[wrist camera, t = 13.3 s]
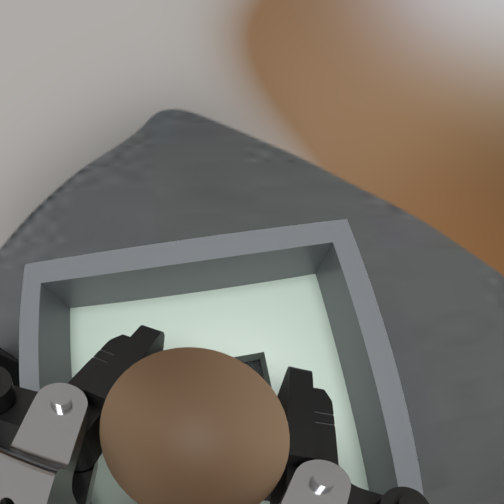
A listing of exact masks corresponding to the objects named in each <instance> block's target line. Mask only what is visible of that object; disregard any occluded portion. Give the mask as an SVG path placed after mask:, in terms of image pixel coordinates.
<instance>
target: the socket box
mask: <svg viewBox="0 0 504 504" xmlns="http://www.w3.org/2000/svg"><path fill="white" fill-rule="evenodd" d="M141 325H144V326H147V327H150V328H153V329H156V330H159V331H162V332H164V334H165V339H164V349H163V350H167V349H173V348H182V347H195V348H205V349H210V350H215V351H218V352H221V353H225V354H227V355H229V356H232V357H234V358H236V359H238V360H240V361H241V362H249V361H255V360H260V362H261V367H262V372H263V377H264V380H265V381H266V382H267V383H268V384H269V386H270V387H271V388H272V389H273V391H274V392H275V394H276V395H278V393H279V390H280V387H281V384H282V382H283V379H284V376H285V373H286V371H287V368H288V367H289V366H290V367H295V368H300V369H304V370H309V371H312V373H313V388H319V389H324V390H325V391H326V393H327V394H328V396H329V397H330V399H331V400H332V404H333V412H334V414H333V416H334V421H335V424H334V426H335V431H336V441H337V451H338V462H339V466H340V467H341V468H342V469H343V470H344V471H345V472H346V473H347V474H348V476H349V478H350V481H351V483H352V484H353V485H355V486H357V487H359V488H362V489H365V490H368V491H371V492H374V493H378V494H381V495H384V494H385V493H386V492H387V491H388V490H390V489H392V488H394V487H401V486H402V487H409V488H412V489H415V490H417V491H418V492H420V493H421V494H422V495H423V496H424V494H423V488H422V481H421V475H420V469H419V464H418V458H417V453H416V448H415V443H414V438H413V433H412V428H411V424H410V419H409V415H408V411H407V406H406V402H405V398H404V394H403V390H402V386H401V382H400V378H399V375H398V371H397V367H396V363H395V360H394V356H393V353H392V349H391V346H390V342H389V339H388V336H387V332H386V329H385V326H384V323H383V319H382V316H381V313H380V310H379V307H378V304H377V301H376V298H375V295H374V292H373V289H372V286H371V283H370V280H369V277H368V274H367V271H366V269H365V266H364V263H363V260H362V257H361V255H360V252H359V249H358V247H357V244H356V241H355V239H354V236H353V234H352V231H351V228H350V226H349V223H348V221H347V219H343V220H334V221H326V222H317V223H309V224H301V225H293V226H285V227H277V228H269V229H261V230H253V231H245V232H238V233H230V234H223V235H215V236H208V237H201V238H194V239H186V240H179V241H172V242H165V243H158V244H151V245H145V246H138V247H131V248H124V249H118V250H111V251H105V252H98V253H92V254H85V255H79V256H72V257H66V258H60V259H54V260H48V261H42V262H36V263H30V264H25V269H24V277H23V286H22V296H21V309H20V328H19V381H20V387H22V388H25V389H29V390H33V391H39V390H40V389H41V388H43V387H44V386H46V385H49V384H52V383H68V382H69V381H70V380H71V379H72V378H73V377H74V376H75V375H76V374H77V373H78V372H79V371H80V370H81V369H82V368H83V366H84V365H85V364H86V363H87V362H88V361H89V360H90V359H91V358H94V355H95V354H96V353H97V352H98V351H99V350H101V348H102V347H103V346H104V345H105V344H106V343H107V342H108V341H109V340H110V339H113V338H115V337H117V336H120V335H122V334H124V335H126V336H129V337H131V335H132V334H133V333H134V332H135V331H136V330H137V329H138V328H139V327H140V326H141ZM90 504H138V503H137V502H135V501H134V500H133V499H132V498H131V497H130V496H128V495H127V493H126V492H125V491H124V490H123V489H122V488H121V487H120V486H119V484H118V483H117V482H116V480H115V479H114V477H113V476H112V474H111V472H110V470H109V468H108V466H107V464H106V461H105V459H104V456H103V452H102V454H101V456H100V457H99V459H98V469H97V473H96V478H95V483H94V487H93V492H92V497H91V502H90ZM260 504H270V501H264V500H263V501H262V502H261V503H260Z"/></svg>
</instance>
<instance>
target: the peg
mask: <svg viewBox="0 0 504 504" xmlns="http://www.w3.org/2000/svg"><path fill="white" fill-rule="evenodd" d="M99 433H100V443H101V448H102V452H103V456H104V459H105V461H106V464H107V466H108V468H109V470H110V472H111V474H112V476H113V477H114V479H115V480H116V482H117V483H118V484H119V486H120V487H121V488H122V489H123V490H124V491H125V492H126V493H127V495H128V496H130V497H131V498H132V499H133V500H134V501H135V502H137V503H138V504H260V503H261V502H262V501H263V500H264V499H266V497H267V496H268V495H269V494H270V493H271V492H272V491H273V489H274V488H275V486H276V485H277V483H278V482H279V480H280V478H281V476H282V474H283V472H284V470H285V467H286V463H287V460H288V455H289V448H290V434H289V427H288V422H287V418H286V415H285V411H284V409H283V407H282V405H281V403H280V400H279V399H278V397H277V395H276V394H275V392H274V391H273V389H272V388H271V387H270V386H269V384H268V383H267V382H266V381H265V380H264V379H263V378H262V377H261V376H260V375H259V374H258V373H257V372H256V371H254V370H253V369H252V368H250V367H249V366H248V365H246V364H245V363H243V362H241V361H240V360H238V359H236V358H234V357H232V356H229V355H227V354H225V353H221V352H218V351H215V350H210V349H205V348H195V347H182V348H173V349H167V350H163V351H160V352H157V353H154V354H151V355H149V356H147V357H145V358H143V359H141V360H140V361H138V362H136V363H135V364H133V365H132V366H131V367H130V368H128V369H127V370H126V371H125V372H124V373H123V374H122V375H121V376H120V377H119V378H118V379H117V381H116V382H115V384H114V385H113V386H112V388H111V389H110V391H109V393H108V395H107V397H106V399H105V402H104V405H103V408H102V412H101V418H100V431H99Z"/></svg>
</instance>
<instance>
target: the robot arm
mask: <svg viewBox="0 0 504 504" xmlns="http://www.w3.org/2000/svg"><path fill="white" fill-rule="evenodd" d="M164 339H165V334H164V332H162V331H159V330H156V329H153V328H150V327H147V326H144V325H141V326H140V327H139V328H138V329H137V330H136V331H135V332H134V333H133V334H132V335H131V337H129V336H126V335H124V334H122V335H120V336H117V337H115V338H113V339H110V340H109V341H108V342H107V343H106V344H105V345H104V346H103V347H102V348H101V350H99V351H98V352H97V353H96V354H95V355H94V358H91V359H90V360H89V361H88V362H87V363H86V364H85V365H84V366H83V368H82V369H81V370H80V371H79V372H78V373H77V374H76V375H75V376H74V377H73V378H72V379H71V380H70V381H69V382H68V383H52V384H49V385H46V386H44V387H43V388H41V389H40V390H39V391H33V390H29V389H25V388H22V387H18V386H15V385H13V382H12V378H11V375H10V374H9V372H8V371H7V370H6V369H5V368H3V367H1V366H0V504H90V502H91V497H92V492H93V487H94V483H95V478H96V473H97V469H98V459H99V457H100V456H101V454H102V448H101V443H100V433H99V431H100V418H101V412H102V408H103V405H104V402H105V399H106V397H107V395H108V393H109V391H110V389H111V388H112V386H113V385H114V384H115V382H116V381H117V379H118V378H119V377H120V376H121V375H122V374H123V373H124V372H125V371H126V370H127V369H128V368H130V367H131V366H132V365H133V364H135V363H136V362H138V361H140V360H141V359H143V358H145V357H147V356H149V355H151V354H154V353H157V352H160V351H163V349H164ZM277 397H278V399H279V400H280V403H281V405H282V407H283V409H284V411H285V415H286V418H287V422H288V427H289V434H290V448H289V455H288V460H287V463H286V467H285V470H284V472H283V474H282V476H281V478H280V480H279V482H278V483H277V485H276V486H275V488H274V489H273V491H272V492H271V493H270V494H269V495H268V496H267V497H266V499H264V501H270V504H429V503H428V502H427V500H426V499H425V497H424V496H423V495H422V494H421V493H420V492H418V491H417V490H415V489H412V488H409V487H402V486H401V487H394V488H392V489H390V490H388V491H387V492H386V493H385V494H384V495H381V494H378V493H374V492H371V491H368V490H365V489H362V488H359V487H357V486H355V485H353V484H352V483H351V481H350V478H349V476H348V474H347V473H346V472H345V471H344V470H343V469H342V468H341V467H340V466H339V462H338V451H337V441H336V431H335V426H334V424H335V421H334V416H333V414H334V412H333V404H332V400H331V399H330V397H329V396H328V394H327V393H326V391H325V390H324V389H319V388H313V373H312V371H309V370H304V369H300V368H295V367H290V366H289V367H288V368H287V371H286V373H285V376H284V379H283V382H282V384H281V387H280V390H279V393H278V395H277Z"/></svg>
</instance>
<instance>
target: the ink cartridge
mask: <svg viewBox="0 0 504 504" xmlns="http://www.w3.org/2000/svg"><path fill="white" fill-rule="evenodd" d="M0 366H1V367H3V368H5V369H6V370H7V371H8V372H9V374H10V375H11V378H12V382H13V385H15V386H18V387H20V381H19V361H18V360H17V359H15V358H14V357H13V356H11V355H10V354H8V353H7V352H6V351H4V350H3V349H1V348H0Z"/></svg>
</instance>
